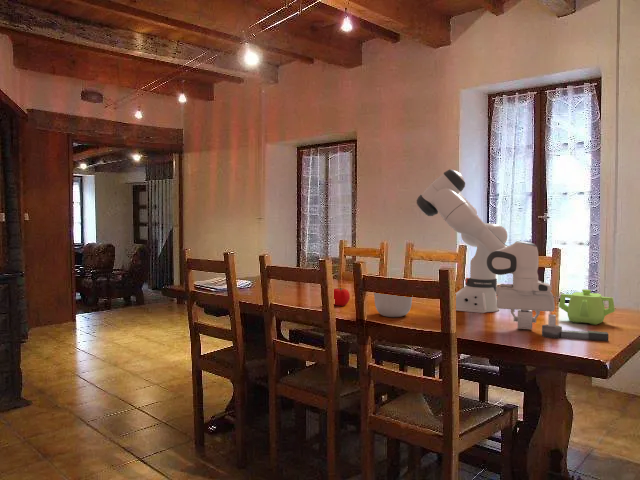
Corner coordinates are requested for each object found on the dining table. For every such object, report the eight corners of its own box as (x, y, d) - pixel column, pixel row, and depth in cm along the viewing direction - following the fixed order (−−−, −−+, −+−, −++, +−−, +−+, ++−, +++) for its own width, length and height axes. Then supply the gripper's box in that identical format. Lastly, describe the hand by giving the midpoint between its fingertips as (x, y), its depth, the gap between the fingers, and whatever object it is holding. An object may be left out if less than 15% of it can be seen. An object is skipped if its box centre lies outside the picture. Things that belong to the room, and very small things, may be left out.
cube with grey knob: (517, 328, 196) (517, 309, 195) (517, 325, 200) (517, 306, 200) (532, 329, 194) (532, 309, 194) (531, 326, 199) (532, 307, 198)
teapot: (612, 330, 197) (613, 295, 196) (554, 324, 207) (555, 291, 206) (615, 321, 212) (616, 289, 211) (561, 316, 223) (561, 285, 222)
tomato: (325, 305, 249) (325, 288, 248) (337, 302, 257) (337, 285, 257) (342, 307, 244) (342, 289, 243) (354, 304, 252) (354, 287, 252)
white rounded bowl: (375, 311, 235) (375, 277, 235) (413, 312, 232) (414, 278, 231) (371, 318, 219) (371, 281, 218) (412, 320, 215) (412, 283, 215)
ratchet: (542, 337, 184) (542, 316, 184) (541, 333, 190) (541, 313, 190) (609, 342, 177) (609, 320, 177) (606, 338, 183) (606, 316, 183)
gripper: (495, 284, 197) (495, 321, 198) (555, 287, 190) (554, 325, 191) (496, 282, 203) (495, 318, 203) (554, 284, 196) (553, 321, 197)
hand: (524, 321), depth 197 cm, fingers closed on cube with grey knob, 5 cm apart
